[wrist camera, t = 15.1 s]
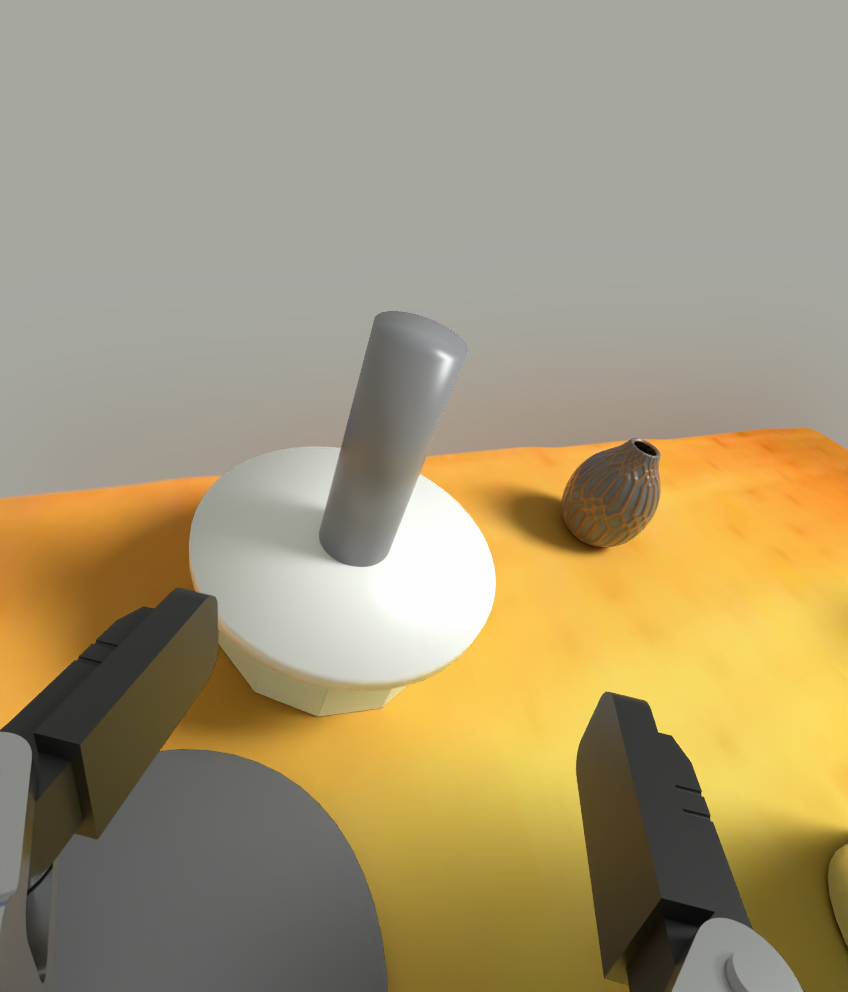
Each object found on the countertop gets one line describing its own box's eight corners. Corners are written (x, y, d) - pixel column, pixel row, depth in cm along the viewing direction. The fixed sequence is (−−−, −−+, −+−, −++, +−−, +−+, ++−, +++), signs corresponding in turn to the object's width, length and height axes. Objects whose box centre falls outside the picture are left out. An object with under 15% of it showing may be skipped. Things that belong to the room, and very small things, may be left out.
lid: (363, 437, 34) (416, 253, 27) (539, 589, 28) (666, 407, 21) (126, 509, 24) (108, 241, 17) (326, 772, 18) (435, 537, 11)
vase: (535, 500, 44) (586, 415, 39) (597, 503, 47) (652, 424, 42) (574, 561, 40) (637, 474, 34) (640, 560, 42) (708, 480, 37)
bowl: (344, 511, 36) (361, 454, 33) (470, 634, 31) (503, 581, 28) (173, 584, 27) (174, 517, 24) (310, 766, 23) (333, 712, 20)
